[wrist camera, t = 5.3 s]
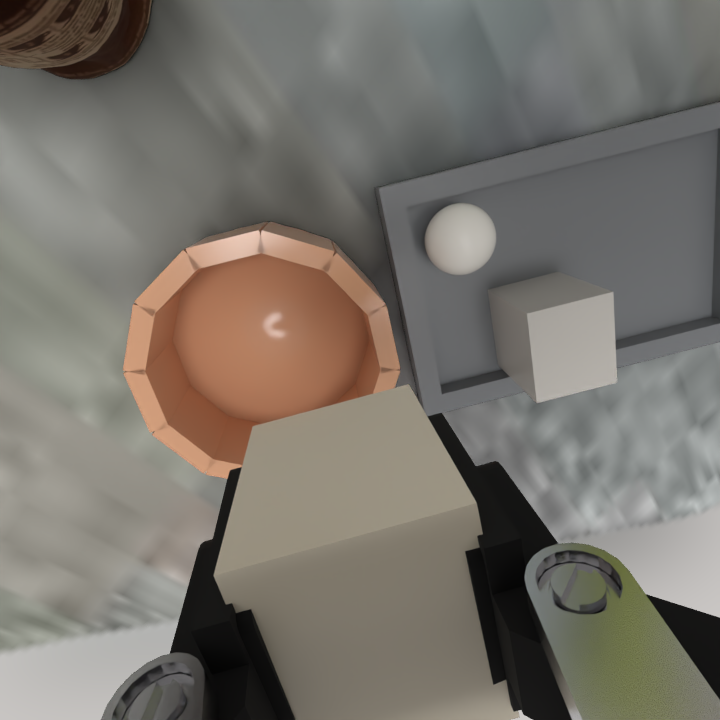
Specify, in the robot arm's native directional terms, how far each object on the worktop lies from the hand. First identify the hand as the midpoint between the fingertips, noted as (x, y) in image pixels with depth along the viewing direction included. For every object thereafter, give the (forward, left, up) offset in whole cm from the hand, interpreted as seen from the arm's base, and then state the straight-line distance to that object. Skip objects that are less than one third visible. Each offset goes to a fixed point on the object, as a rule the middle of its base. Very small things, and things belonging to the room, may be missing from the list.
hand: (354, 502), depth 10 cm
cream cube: (0, 0, -1) cm, 1 cm away
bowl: (+3, 0, -14) cm, 14 cm away
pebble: (-6, -3, -14) cm, 15 cm away
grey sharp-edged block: (-9, +2, -14) cm, 17 cm away
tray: (-12, 0, -14) cm, 18 cm away
